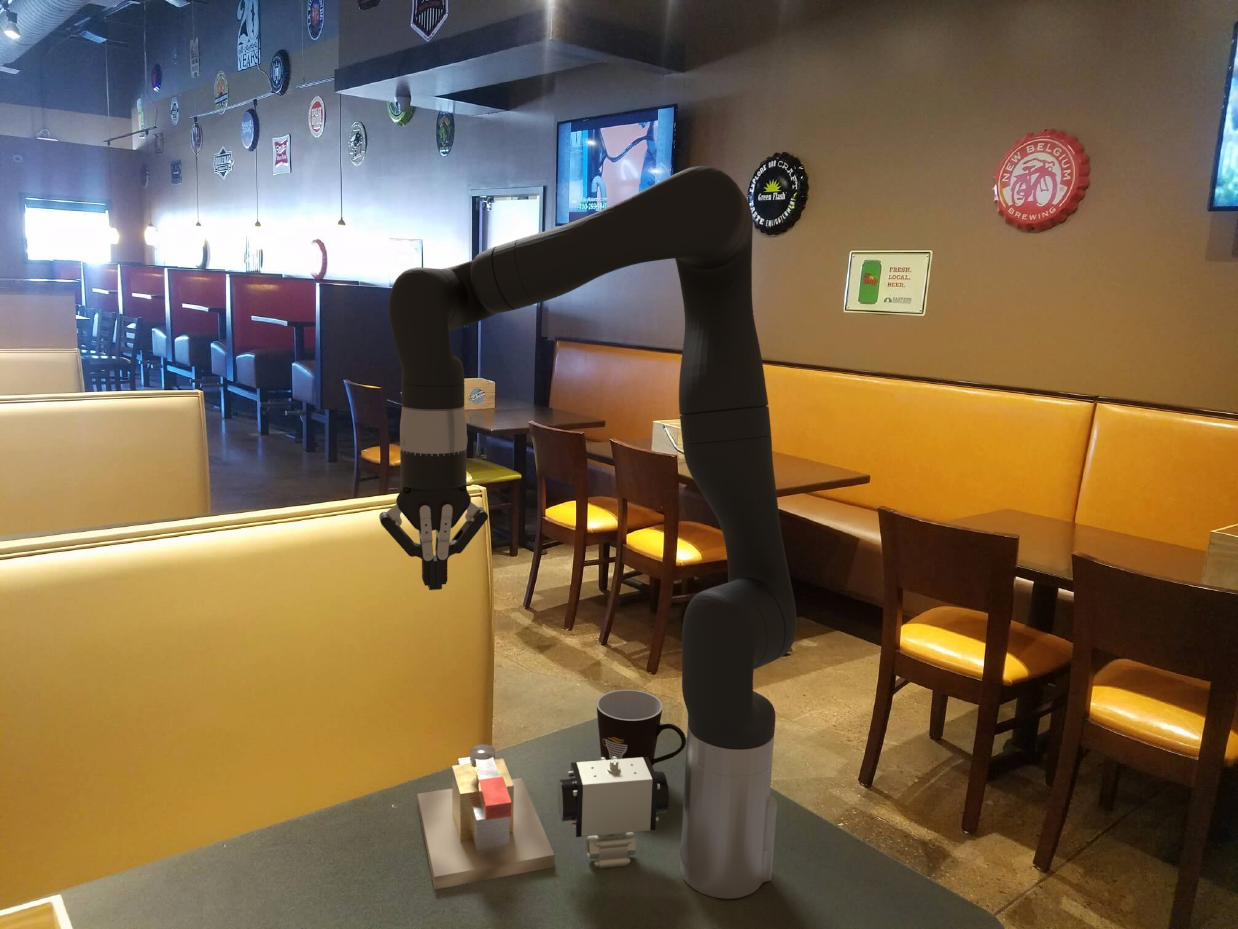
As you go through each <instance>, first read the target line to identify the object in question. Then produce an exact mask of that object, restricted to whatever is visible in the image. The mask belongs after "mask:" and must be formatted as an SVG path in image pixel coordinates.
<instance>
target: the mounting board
mask: <svg viewBox="0 0 1238 929" xmlns="http://www.w3.org/2000/svg"><path fill="white" fill-rule="evenodd" d="M511 780H512V782H513V785H514V814H513V834H510V840H509V844H508V845H506V853H503V854H497V855H492V856H486V857H480V858H479V856H478V853H477V850H476V846H475V843H474V840H473V841H467V842H461V843H460V839H459V835H458V832H457V828H456V824H455V820H454V817H453V813H452V788H446V789H439V790H434V791H427V792H426V791H425V792H420V793H417V794H416V795H417V796H416V797H417V798H416V799H417V800H416V801H417V804H416V805H417V809H418V814H419V818H420V824H421V830H422V835H423V839H424V844H425V848H426V853H427V859H428V864H429V868H430V873H431V878H432V884H433V888H434V890H440V889H444V888H450V887H454V886H460V885H466V884H471V883H476V882H481V880H482V881H487V880H491V879H496V878H497V877H498V878H501V877H502V878H503V877H508V876H512V875H513V874H514V875H518V874H523V873H529V872H534V871H538V870H540V871H541V870H546V869H551V868H554V867H555V853H554V851H553V848H552V846H551V843H550V842H549V839H548V837H547V834H546V831H545V829H544V827H543V825H542V822H541V820H540V818H539V815H538V812H537V810H536V808H535V806H534V804H533V801H532V799H531V797H530V794H529V791H528V789H527V787H526V785H525V783H524V780H523V778H522V777H517V778H511ZM545 868H546V869H545ZM486 879H487V880H486Z"/></svg>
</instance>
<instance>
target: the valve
mask: <svg viewBox="0 0 1238 929" xmlns="http://www.w3.org/2000/svg"><path fill="white" fill-rule="evenodd" d="M495 764H496V768H497V771H498V774H499V777H503V778H504V781H505V784H506V787H507V790H508V793H509V797H510V800H511V817H504V818H497V819H490V820H486V818H485V815H484V811H483V807H482V803H481V800H480V796H479V779H478V775H477V771H476V768H475V767H473V766H471V764H470V756H468V757H460V758H457V764H456V765H452V766H451V770H452V771H451V774H452V775H451V777H452V779H451V780H452V781H451V782H452V784H451V785H452V786H451V787H452V788H451V789H452V813H453V817H454V820H455V824H456V828H457V832H458V835H459V839H460V843H461V842H467V841H473V840H474V843H475V846H476V850H477V853H478V856H479V858H480V857H486V856H492V855H497V854H503V853H506V845H508V844H509V840H510V834H513V814H514V785H513V782H512V780H511V779H512V777H511V775H510V773H509V770H508V768H507V765H506V763H505V760H504V758H499V759H497V758H495Z"/></svg>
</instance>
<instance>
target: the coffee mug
mask: <svg viewBox="0 0 1238 929" xmlns="http://www.w3.org/2000/svg"><path fill="white" fill-rule="evenodd" d="M663 705H664V704H663V703H662V701H661V700H660V698H658V697H657V696H656V695H654V694H652V693H649V692H646V691H642V690H636V689H617V690H612V691H608V692H606V693H604V694H602V695H601V696H599V697H598V699H597V700H596V715H597V716H596V717H597V727H598V738H599V746H600V747H599V748H600V758H601V757H604V758H605V759H606V760H611V758H612V757H613V756H615V757H617V759H627V758H640V757H648V758H649V760H650V762H651V765H652V767H653V768H654V765H655V764H658V763H660V762H663V761H667V760H669V759H673V758H674V757H675V756H678V755H679V754H680V753H682V751H683V750H684V748H685V747H686V746H687V737H686V734H685V733H684V731H683V730H682V729H681V728H680V727H679V726H677V725H676V724H672V723H663V724H661V718H662V713H663V707H664V706H663ZM666 729H668V730H673V731H674V732H676V734H677V735H679V737H680V740H681V743H680V747H678V749H676V750H675V751H673V752H671V753H670V752H669V753H668V754H665V755H661V756H659V757H656V758H655V755H656V750H657V742H658V736H659V735H660V734H661V732H662V731H664V730H666Z"/></svg>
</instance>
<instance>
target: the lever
mask: <svg viewBox="0 0 1238 929" xmlns="http://www.w3.org/2000/svg"><path fill="white" fill-rule="evenodd" d="M469 757H470V764H471V766H473V767H475V768H476V771H477V775H478V779H479V796H480V800H481V803H482V807H483V811H484V815H485V818H486V820H490V819H497V818H504V817H511V800H510V797H509V793H508V790H507V787H506V784H505V781H504V778H503V777H499V774H498V771H497V768H496V764H495V760H496V749H495V747H494V746H492V745H490V744H477V745H475V746H472V748H470V750H469Z"/></svg>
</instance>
